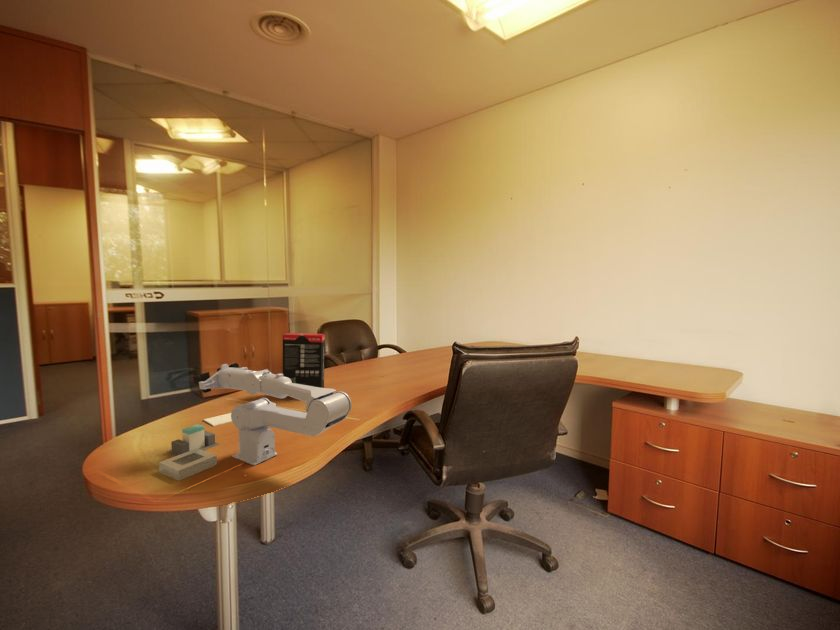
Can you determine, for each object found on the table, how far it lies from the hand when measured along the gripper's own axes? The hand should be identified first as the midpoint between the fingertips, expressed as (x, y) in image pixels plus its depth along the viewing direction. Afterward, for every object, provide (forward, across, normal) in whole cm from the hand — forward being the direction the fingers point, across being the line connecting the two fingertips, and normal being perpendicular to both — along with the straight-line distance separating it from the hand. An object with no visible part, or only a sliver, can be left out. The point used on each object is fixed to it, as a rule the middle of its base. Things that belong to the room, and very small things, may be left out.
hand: (206, 375), depth 116 cm
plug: (0, +8, +19) cm, 21 cm away
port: (-11, +16, +20) cm, 28 cm away
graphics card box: (+12, -49, +26) cm, 57 cm away
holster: (0, +8, +20) cm, 21 cm away
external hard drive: (+13, -12, +22) cm, 29 cm away
